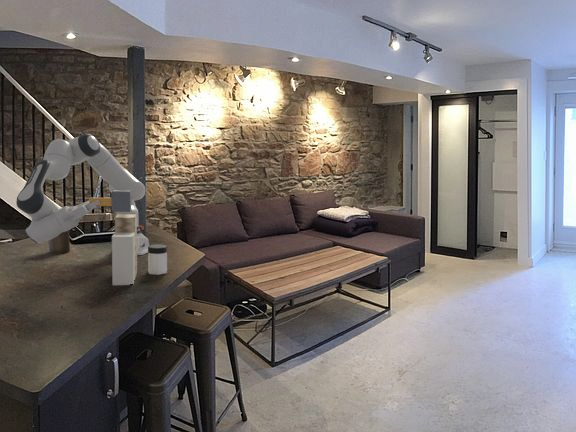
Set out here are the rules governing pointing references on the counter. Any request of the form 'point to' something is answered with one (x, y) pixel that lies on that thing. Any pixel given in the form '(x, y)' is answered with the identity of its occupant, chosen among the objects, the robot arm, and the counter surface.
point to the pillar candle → (60, 244)
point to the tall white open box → (123, 258)
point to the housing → (116, 201)
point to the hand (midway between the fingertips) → (100, 200)
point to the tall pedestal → (127, 228)
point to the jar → (157, 259)
